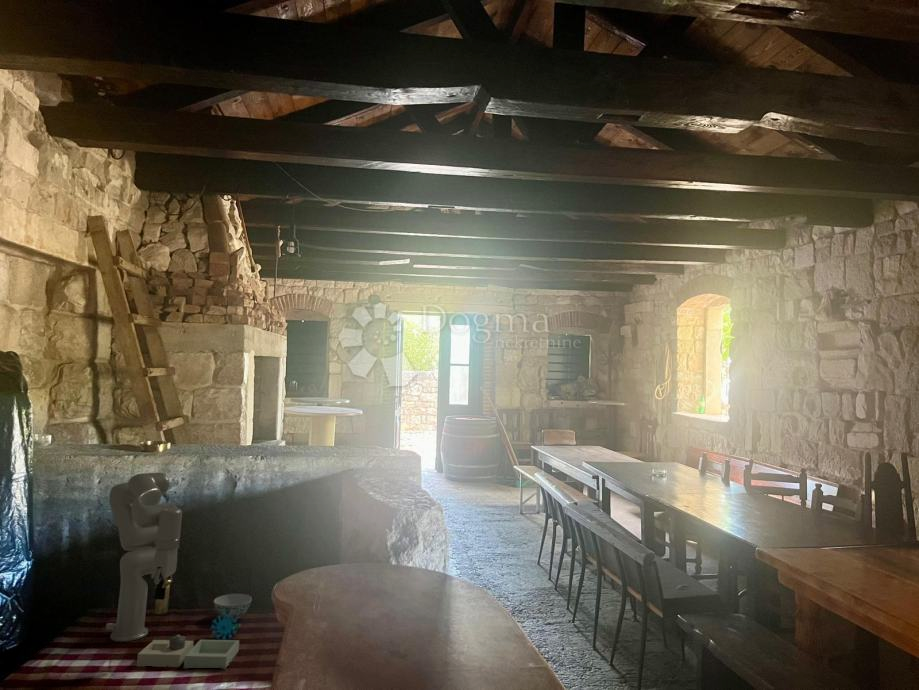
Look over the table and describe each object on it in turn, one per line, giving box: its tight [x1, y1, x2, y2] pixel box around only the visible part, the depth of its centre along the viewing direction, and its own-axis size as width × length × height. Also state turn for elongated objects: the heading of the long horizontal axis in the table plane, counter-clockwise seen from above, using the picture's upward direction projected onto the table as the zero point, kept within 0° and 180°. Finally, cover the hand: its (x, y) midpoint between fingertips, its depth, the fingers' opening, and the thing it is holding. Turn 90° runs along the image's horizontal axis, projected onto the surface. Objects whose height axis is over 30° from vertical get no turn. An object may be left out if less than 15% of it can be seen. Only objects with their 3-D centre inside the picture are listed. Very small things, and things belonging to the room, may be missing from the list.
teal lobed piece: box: [210, 614, 242, 640], centre depth 225 cm, size 11×6×10 cm
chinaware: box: [213, 593, 253, 621], centre depth 243 cm, size 15×15×8 cm
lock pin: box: [154, 577, 173, 615], centre depth 205 cm, size 5×5×11 cm
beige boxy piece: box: [136, 634, 194, 668], centre depth 203 cm, size 14×12×8 cm
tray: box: [183, 639, 240, 670], centre depth 204 cm, size 14×14×4 cm
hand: (162, 596), depth 205 cm, fingers closed on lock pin, 4 cm apart
